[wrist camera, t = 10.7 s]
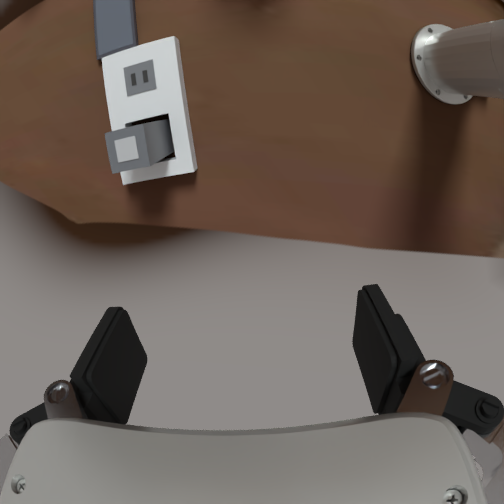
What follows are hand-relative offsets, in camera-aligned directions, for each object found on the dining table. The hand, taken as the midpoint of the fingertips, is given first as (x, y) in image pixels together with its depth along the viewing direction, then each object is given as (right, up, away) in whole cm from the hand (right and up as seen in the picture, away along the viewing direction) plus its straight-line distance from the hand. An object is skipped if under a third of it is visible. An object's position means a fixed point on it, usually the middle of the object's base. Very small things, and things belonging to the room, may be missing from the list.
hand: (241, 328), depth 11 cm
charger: (-12, +18, +25) cm, 33 cm away
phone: (-18, +34, +17) cm, 42 cm away
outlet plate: (-13, +21, +23) cm, 34 cm away
